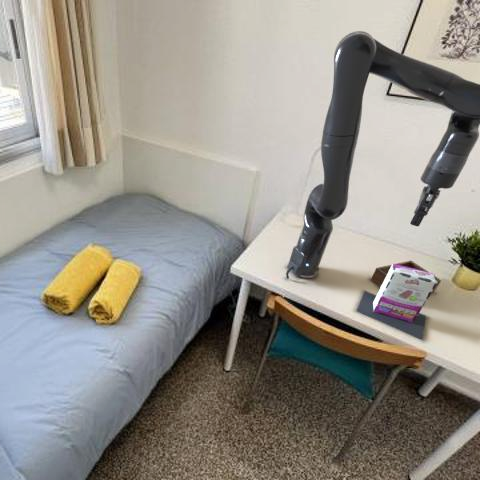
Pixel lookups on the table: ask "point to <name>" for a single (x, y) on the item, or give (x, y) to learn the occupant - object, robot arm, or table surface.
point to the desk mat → (407, 327)
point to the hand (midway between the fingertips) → (416, 219)
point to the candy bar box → (404, 292)
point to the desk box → (383, 271)
